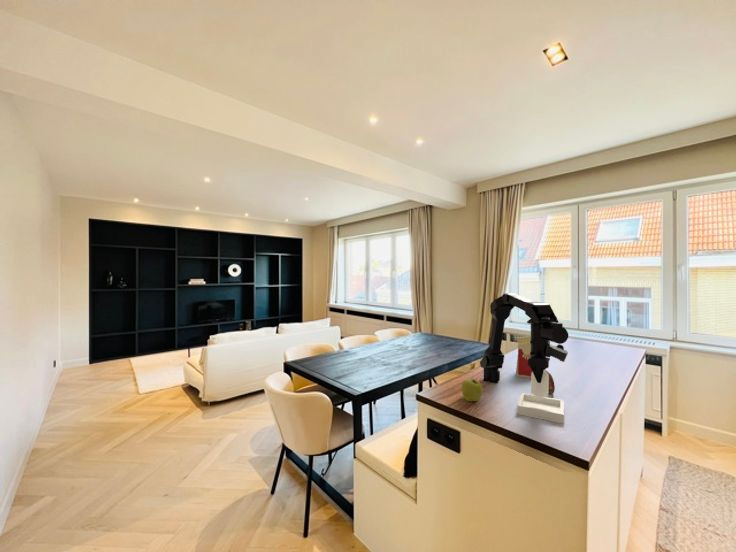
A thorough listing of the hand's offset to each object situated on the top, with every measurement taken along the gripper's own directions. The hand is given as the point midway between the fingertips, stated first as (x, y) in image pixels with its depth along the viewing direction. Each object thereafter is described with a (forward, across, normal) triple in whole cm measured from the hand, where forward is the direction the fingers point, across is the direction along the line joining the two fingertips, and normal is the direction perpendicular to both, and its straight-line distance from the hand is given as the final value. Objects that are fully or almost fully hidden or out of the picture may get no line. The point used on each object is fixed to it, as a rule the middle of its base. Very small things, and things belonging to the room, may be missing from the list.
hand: (539, 380), depth 110 cm
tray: (+12, +1, 0) cm, 12 cm away
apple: (+12, -2, +24) cm, 27 cm away
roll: (+5, 0, 0) cm, 5 cm away
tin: (+12, +26, 0) cm, 29 cm away
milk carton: (+12, +44, +9) cm, 46 cm away
